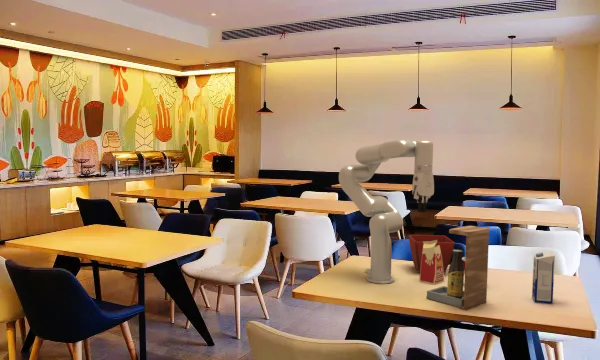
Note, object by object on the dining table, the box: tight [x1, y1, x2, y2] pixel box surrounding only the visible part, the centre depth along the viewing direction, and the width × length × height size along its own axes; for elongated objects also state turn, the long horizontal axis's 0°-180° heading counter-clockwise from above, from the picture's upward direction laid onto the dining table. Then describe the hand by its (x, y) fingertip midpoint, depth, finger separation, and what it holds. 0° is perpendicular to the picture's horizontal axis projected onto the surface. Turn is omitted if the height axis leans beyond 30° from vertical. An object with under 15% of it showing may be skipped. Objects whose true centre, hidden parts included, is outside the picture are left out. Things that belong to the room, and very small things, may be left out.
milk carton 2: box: [531, 251, 556, 305], centre depth 213 cm, size 7×7×20 cm
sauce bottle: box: [446, 249, 465, 299], centre depth 212 cm, size 6×6×20 cm
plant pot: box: [408, 234, 455, 275], centre depth 262 cm, size 19×19×17 cm
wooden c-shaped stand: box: [448, 225, 490, 311], centre depth 207 cm, size 9×15×30 cm, turn 132°
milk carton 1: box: [419, 240, 445, 286], centre depth 242 cm, size 9×9×20 cm
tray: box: [426, 285, 464, 307], centre depth 213 cm, size 16×12×3 cm
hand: (421, 211), depth 224 cm, fingers closed
